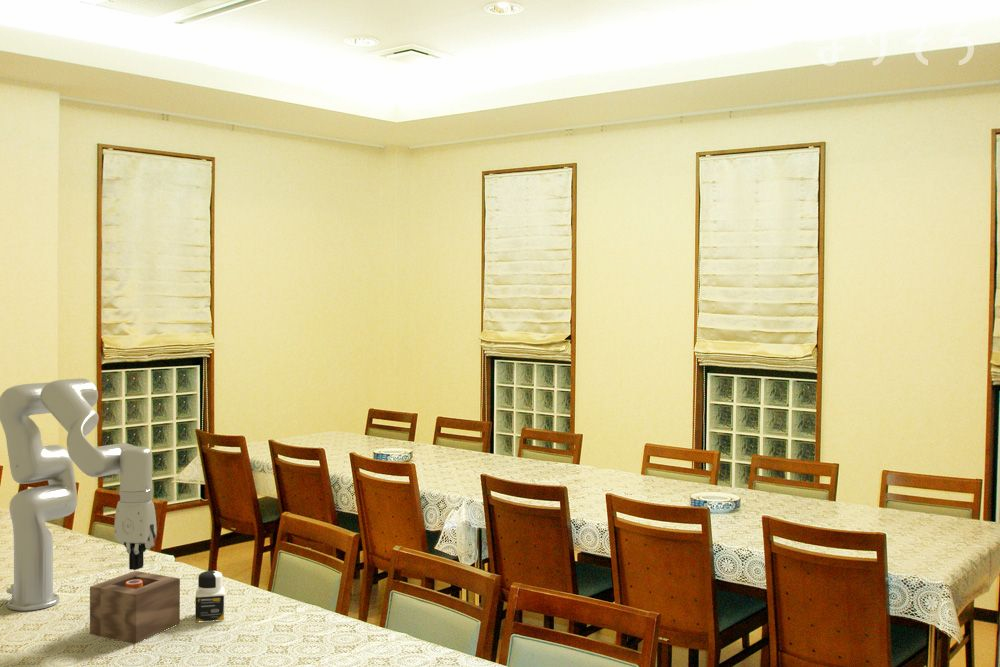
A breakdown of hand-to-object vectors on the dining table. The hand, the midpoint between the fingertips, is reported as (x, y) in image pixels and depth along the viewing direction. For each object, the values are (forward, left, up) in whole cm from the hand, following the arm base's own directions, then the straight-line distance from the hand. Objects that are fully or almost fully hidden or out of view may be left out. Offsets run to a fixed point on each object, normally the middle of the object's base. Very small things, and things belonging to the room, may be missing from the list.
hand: (136, 568), depth 236 cm
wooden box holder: (0, 0, -16) cm, 16 cm away
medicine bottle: (+11, +15, -16) cm, 24 cm away
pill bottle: (-1, 0, -15) cm, 15 cm away
